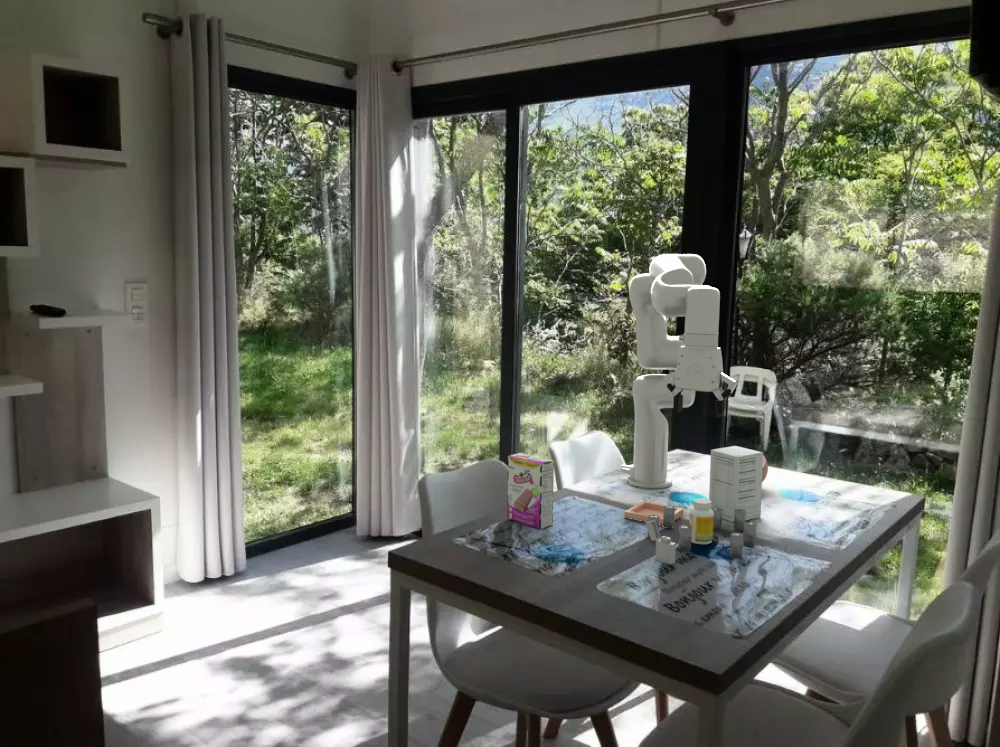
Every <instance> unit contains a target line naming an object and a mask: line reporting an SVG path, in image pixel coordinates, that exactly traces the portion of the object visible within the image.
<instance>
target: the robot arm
mask: <svg viewBox="0 0 1000 747" xmlns="http://www.w3.org/2000/svg"><path fill="white" fill-rule="evenodd" d="M706 275H707V268H706V264H705V261H704V259H703V258H702V257H701V256H700V255H698V254H693V253H686V254H685V253H683V254H681V253H680V254H679V253H666V254H665V253H664V254H660V255H658V256H656V257H655V258H653V259H652V261H651V262H650V264H649V273H647V272H646V273H641V274H637V275H635V276H634V277H633V278H632V279H631V280H630V283H629V288H628V289H629V300H630V301H629V302H630V304H631V309H632V310H633V311H632V312H633V313H634V317H635V322H636V357H637V363H638V366H639V367H640V368H642V369H645V370H657V371H658V370H659V371H661V370H662V371H663V370H665V371H666V370H674V371H672V372H670V373H668V374H665V373H663V374H662V373H656V374H655V373H654V374H650V373H648V374H643V375H640V376H637V377H636V378H635V379H634V380H633V383H632V389H631V391H632V397H633V405H634V406H633V407H634V408H633V409H634V431H633V432H634V436H633V437H634V438H633V439H634V441H633V442H634V443H633V464H632V465H628V464H622V465H621V473H625V474H629V476H628V477H627V483H628V482H629V483H630V484H629V483H628V484H629V485H631V484H632V485H631V486H633V485H635V486H634V487H636V486H639V487H638V488H641V487H644V488H643V489H650V488H657V489H665V488H666V489H667V488H669V487H670V486H672V484H673V479H672V478H670V477H669V476H667V474H668V449H669V448H668V447H669V422H668V420H667V418H666V416H665V415H664V414H663V413H662V412H661V409H671V408H673V409H674V414H678V413H681V412H683V408H684V409H685V408H689V407H690V406H692V405H693V404H694V403H695V402H694V401H695V398H696V392H704V393H706V392H707V393H713V394H714V396H715V397H716V400H715V401H714V417H715V418H717V419H719V418H721V417H723V415H724V413H725V402H726V401H725V400H726V399H727V398H728V397H730V396H731V395H732V394H733V392H734V390H735V389H736V387H737V385H738V382H737V381H736V380H735V379H733V378H732V377H730V376H728V375H727V374H725V373H724V366H723V356H722V350H721V347H718V346H719V326H720V325H719V324H720V323H719V322H720V302H721V301H720V300H721V296H720V295H721V293H720V290H719V289H718V288H716V287H712V286H710V285H705V284H704V285H703V283H704V282H705V279H706ZM669 317H670V318H671V317H672V318H674V317H675V318H676V317H684V319H685V320H684V332H683V334H679V335H676V336H675V335H672V336H671V335H668V330H667V329H668V326H667V325H668V322H667V318H669ZM724 383H726V384H727V385H728V386H727V388H726V389H725V390H724V389H723V385H724Z"/></svg>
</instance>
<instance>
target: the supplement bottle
mask: <svg viewBox="0 0 1000 747" xmlns="http://www.w3.org/2000/svg"><path fill="white" fill-rule="evenodd" d="M692 505H693V507H691V509H690V510H689V521H688V526H690V527H691V544H692V543H693V544H697V545H709V544H711V543H712V542H713V536H714V535H713V534H714V531H713V519H714V513H713V511H712V510H711V509H710V508H711V501H710V500H709V498H703V497H702V498H699V497H698V498H694V499H693V502H692Z"/></svg>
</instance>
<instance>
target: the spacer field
mask: <svg viewBox="0 0 1000 747" xmlns="http://www.w3.org/2000/svg"><path fill="white" fill-rule="evenodd" d="M665 505H666V506H664V514H663V526H664V527H668V528H672V527H674V528H675V521H674V514H675V507H676V506H674V505H671V504H669V505H667V504H665ZM711 510H712V511H713V513H714V519H713V532H714V531H715V532H721V531H722V528H723V518H722V509H721V508H711ZM745 519H746V511H745V510H742V509H736V510H735V511H734V522H733V532H731V533H730V541H729V557H730V558H731V559H736V560H737V559H742V558H743V549H744V548H743V547H744V545H745V547H748V546H749V547H750V548H753V546H754V547H756V537H757V536H756V535H757V534H756V533H757V523H756V522H754V521H753V522H752V521H745ZM652 520H655V522H656V525H657V528H658V531H659V532H660V526H659V516H658V515H648V522H649V521H652ZM663 526H662V527H663ZM664 527H663V528H664ZM668 528H667V529H668ZM678 528H679V530H678V549H679V550H681V551H683V552H686V551H687V552H688V551H691V548H692V547H691V546H692V542H691V527H690V526H689V525H687V524H686V525H679V527H678ZM672 529H673V528H672ZM646 532H647V533H646V534H647V535H646V536H648V537H649V538H648V537H647V538H648V539H650V536H649V532H648V530H647V531H646ZM743 532H744V533H743Z"/></svg>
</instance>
